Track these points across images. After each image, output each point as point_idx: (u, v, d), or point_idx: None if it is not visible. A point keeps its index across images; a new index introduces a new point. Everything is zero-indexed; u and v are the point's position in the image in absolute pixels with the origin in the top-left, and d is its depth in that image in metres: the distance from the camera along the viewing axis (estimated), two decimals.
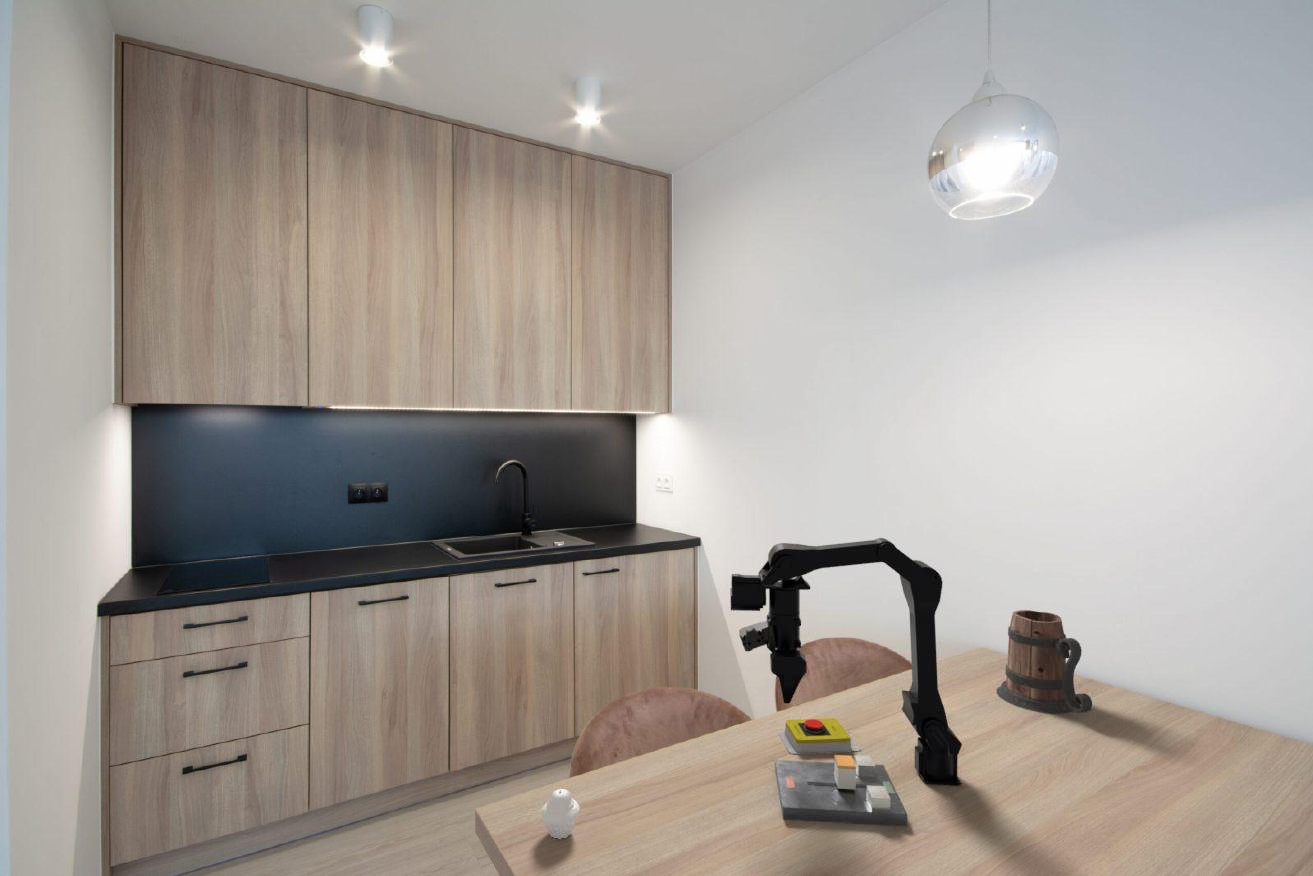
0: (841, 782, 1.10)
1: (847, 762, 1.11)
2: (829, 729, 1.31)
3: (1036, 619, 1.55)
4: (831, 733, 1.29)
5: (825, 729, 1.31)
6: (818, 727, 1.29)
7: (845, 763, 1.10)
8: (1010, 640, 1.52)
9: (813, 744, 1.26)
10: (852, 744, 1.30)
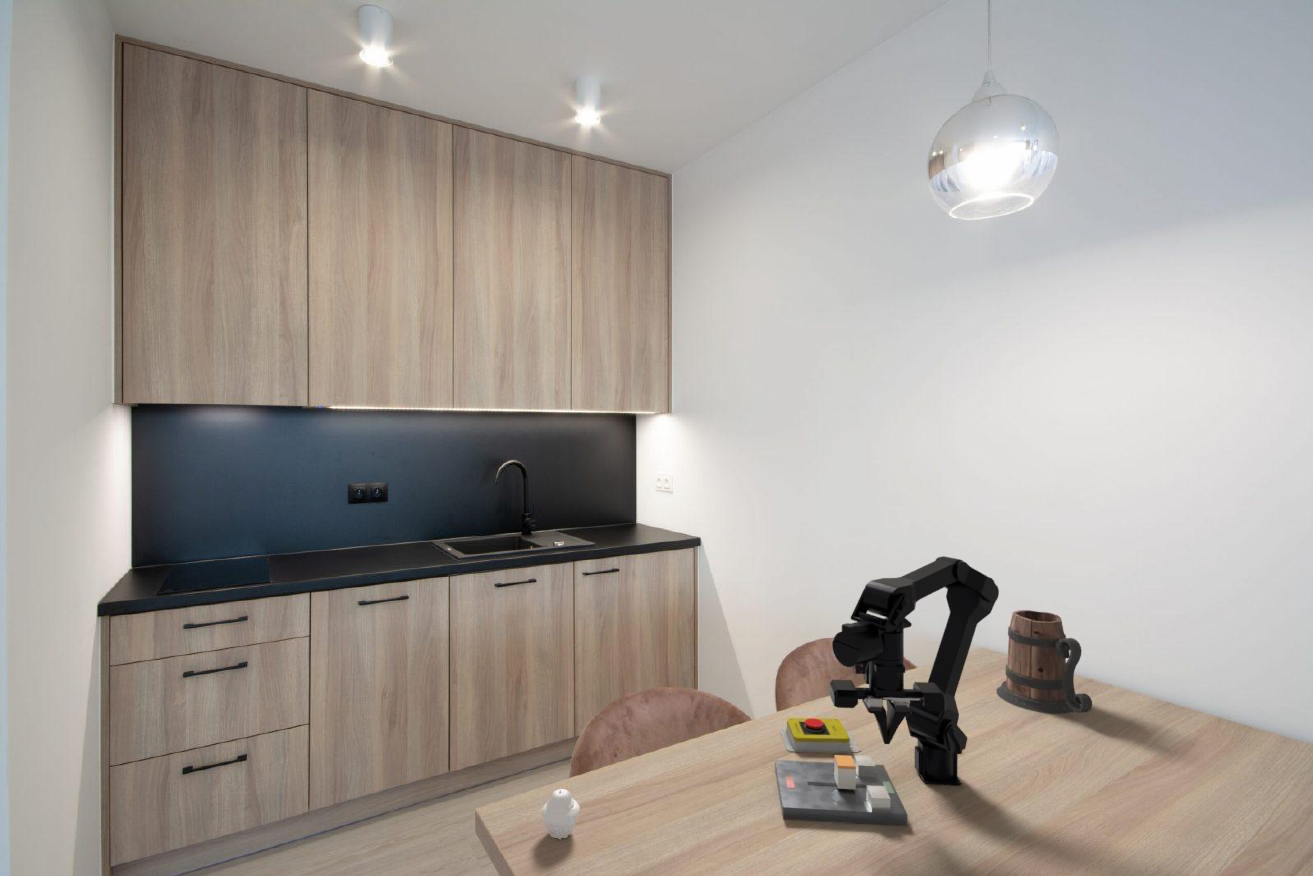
0: (841, 782, 1.10)
1: (847, 762, 1.11)
2: (830, 729, 1.31)
3: (1036, 619, 1.55)
4: (830, 733, 1.29)
5: (825, 729, 1.31)
6: (817, 726, 1.30)
7: (845, 763, 1.10)
8: (1010, 640, 1.52)
9: (810, 743, 1.27)
10: (852, 745, 1.29)
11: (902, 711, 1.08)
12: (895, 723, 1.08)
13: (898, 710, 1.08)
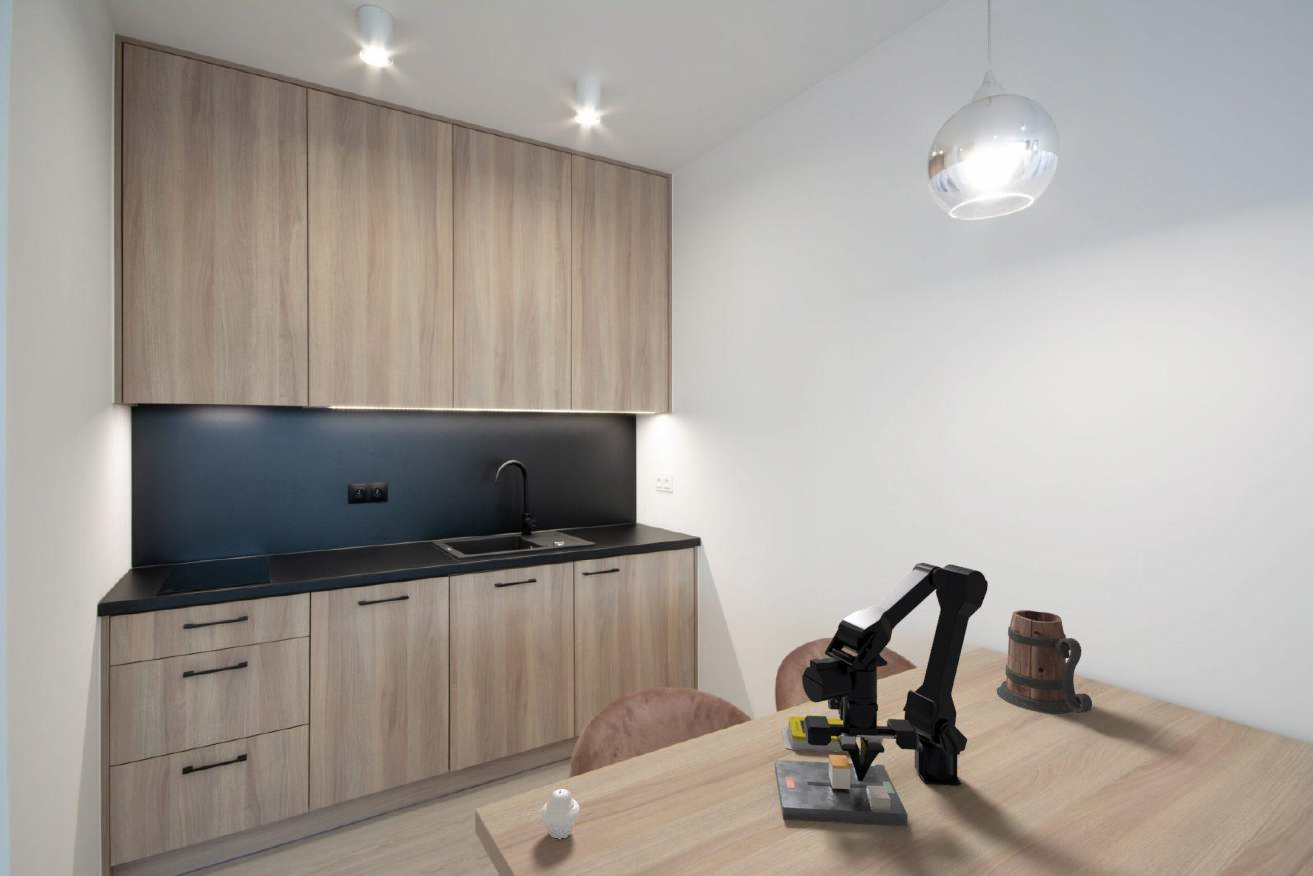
0: (835, 782, 1.10)
1: (841, 762, 1.11)
2: None
3: (1036, 619, 1.55)
4: None
5: None
6: None
7: (839, 763, 1.11)
8: (1010, 640, 1.52)
9: None
10: None
11: (874, 749, 1.08)
12: (868, 761, 1.09)
13: (871, 748, 1.09)
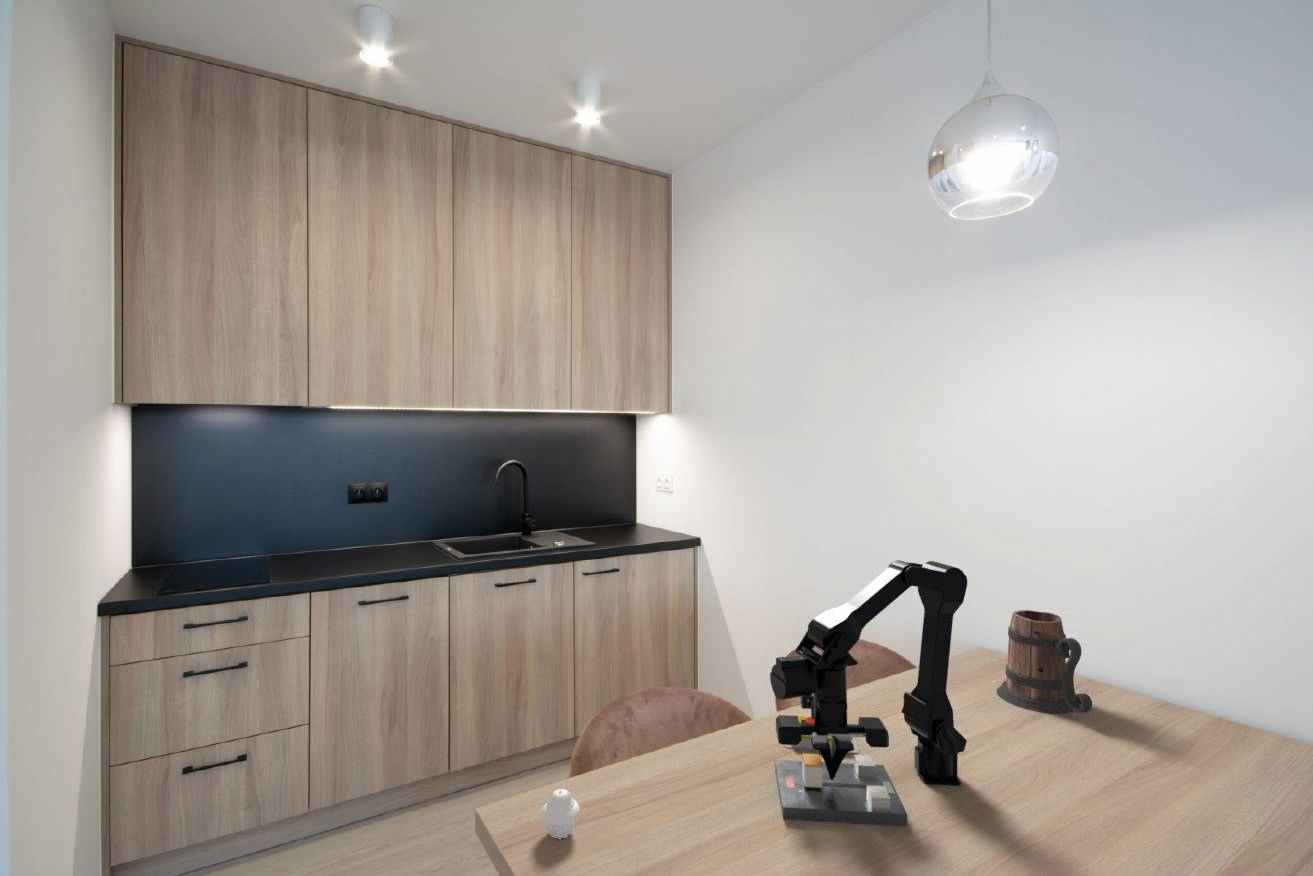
0: (808, 780, 1.10)
1: (814, 760, 1.11)
2: None
3: (1036, 619, 1.55)
4: None
5: None
6: None
7: (812, 761, 1.11)
8: (1010, 640, 1.52)
9: (807, 741, 1.28)
10: None
11: (844, 748, 1.08)
12: (838, 759, 1.09)
13: (840, 746, 1.09)
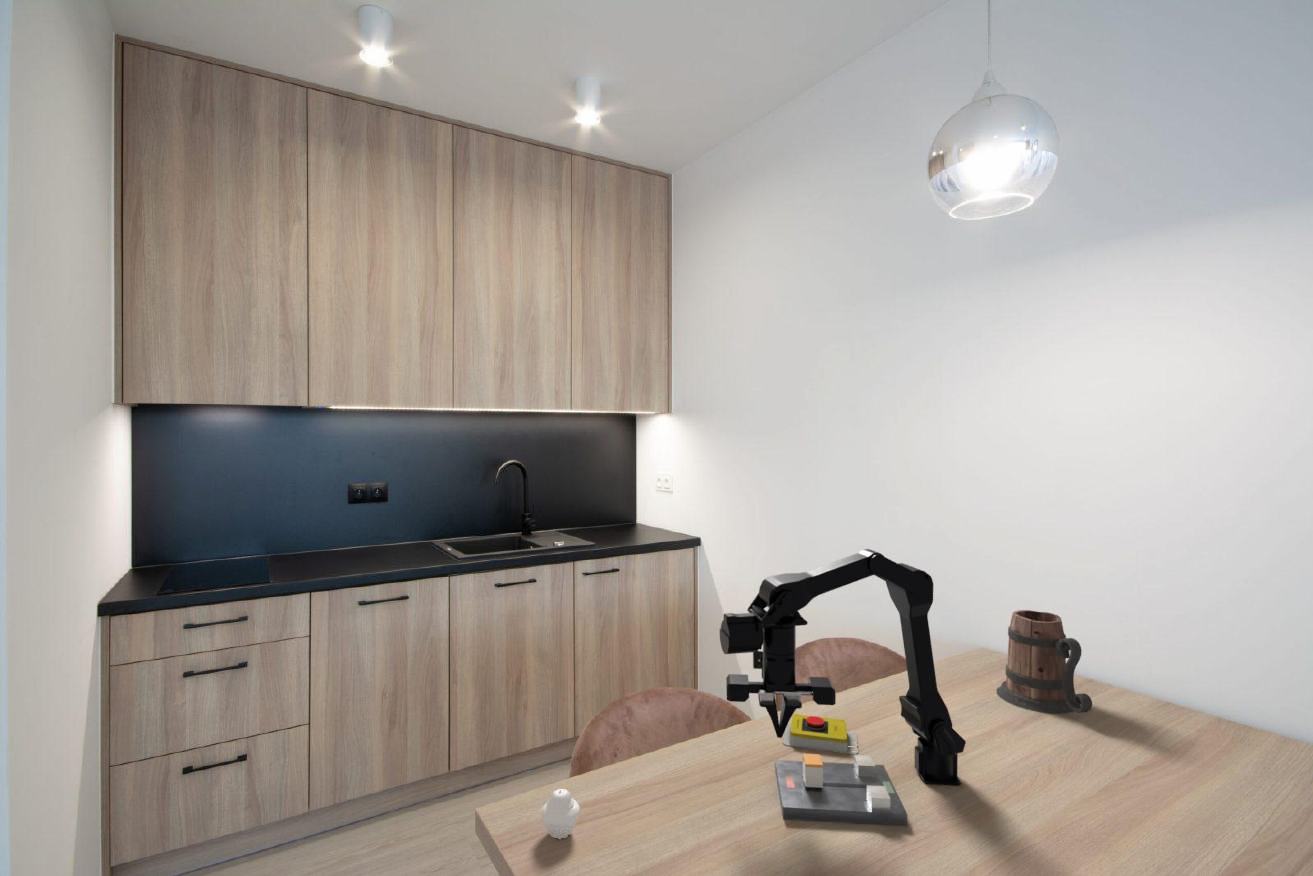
0: (808, 780, 1.10)
1: (815, 760, 1.11)
2: (830, 729, 1.31)
3: (1036, 619, 1.55)
4: (829, 732, 1.29)
5: (826, 728, 1.31)
6: (816, 724, 1.31)
7: (812, 761, 1.11)
8: (1010, 640, 1.52)
9: (806, 739, 1.29)
10: (852, 747, 1.29)
11: (791, 705, 1.09)
12: (786, 717, 1.10)
13: (789, 704, 1.10)
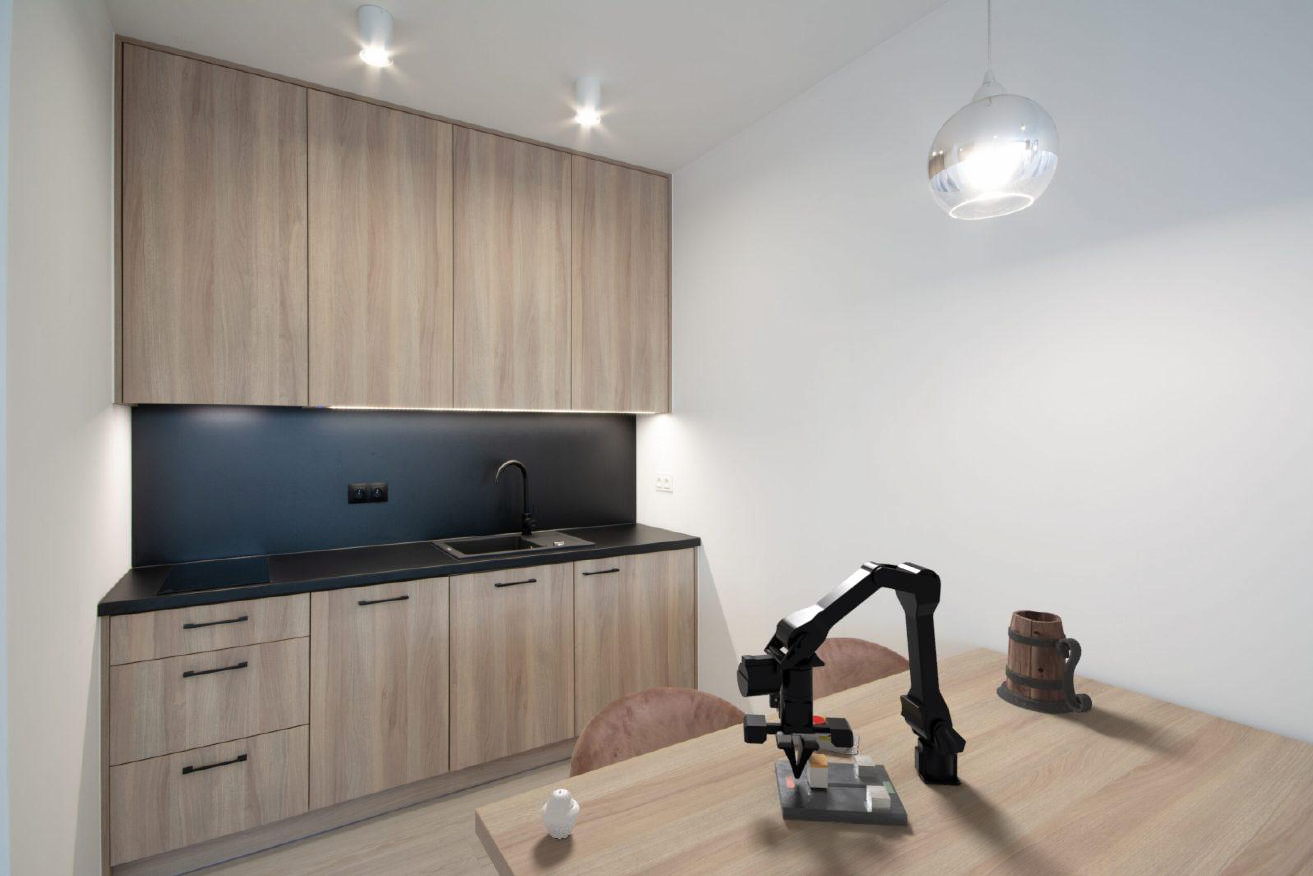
0: (813, 781, 1.10)
1: (819, 761, 1.11)
2: None
3: (1036, 619, 1.55)
4: None
5: None
6: (816, 723, 1.31)
7: (817, 762, 1.11)
8: (1010, 640, 1.52)
9: None
10: (852, 747, 1.28)
11: (809, 747, 1.09)
12: (803, 759, 1.10)
13: (806, 746, 1.10)
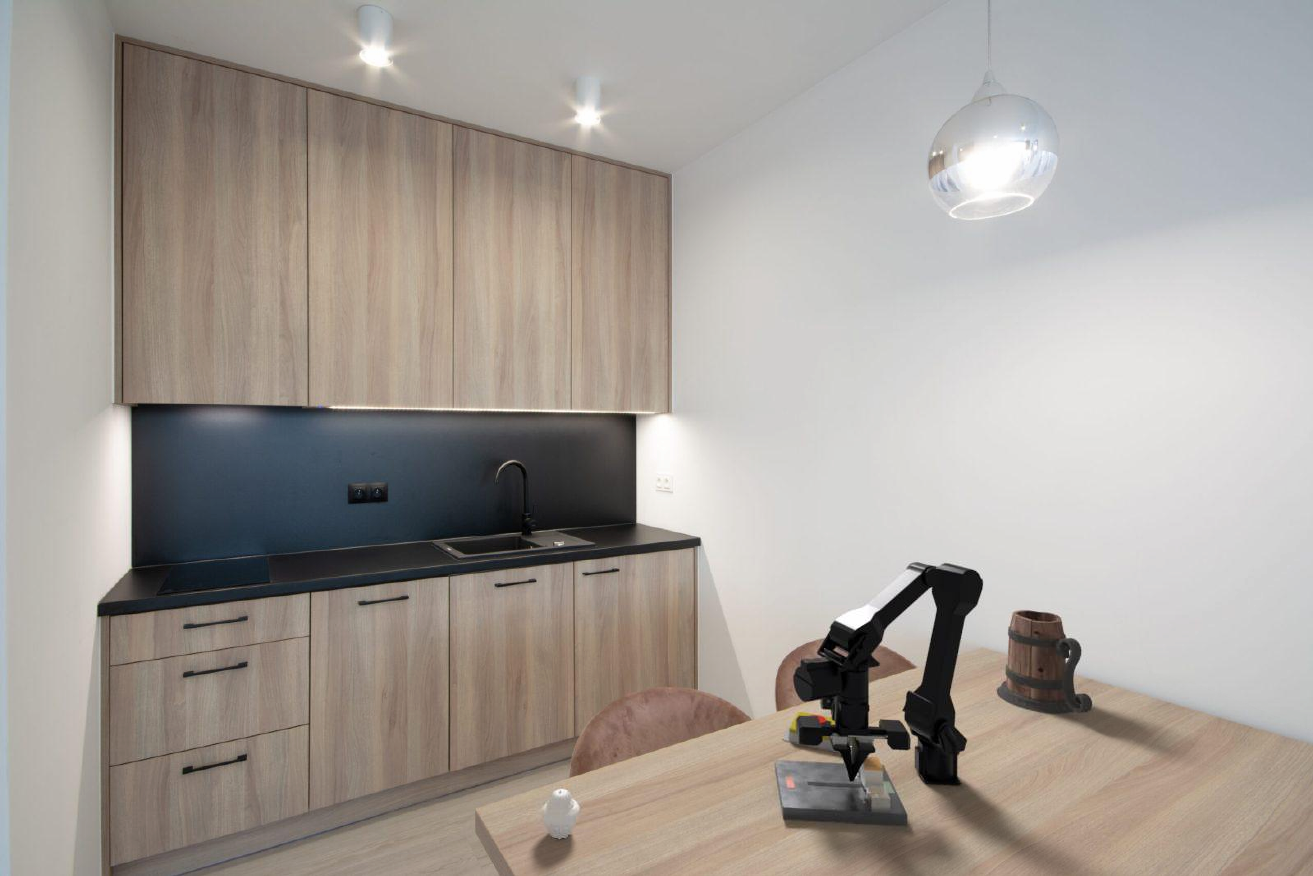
0: (868, 783, 1.09)
1: (874, 763, 1.10)
2: None
3: (1036, 619, 1.55)
4: None
5: None
6: None
7: (872, 764, 1.10)
8: (1010, 640, 1.52)
9: None
10: (851, 748, 1.28)
11: (865, 749, 1.08)
12: (859, 761, 1.09)
13: (862, 748, 1.09)
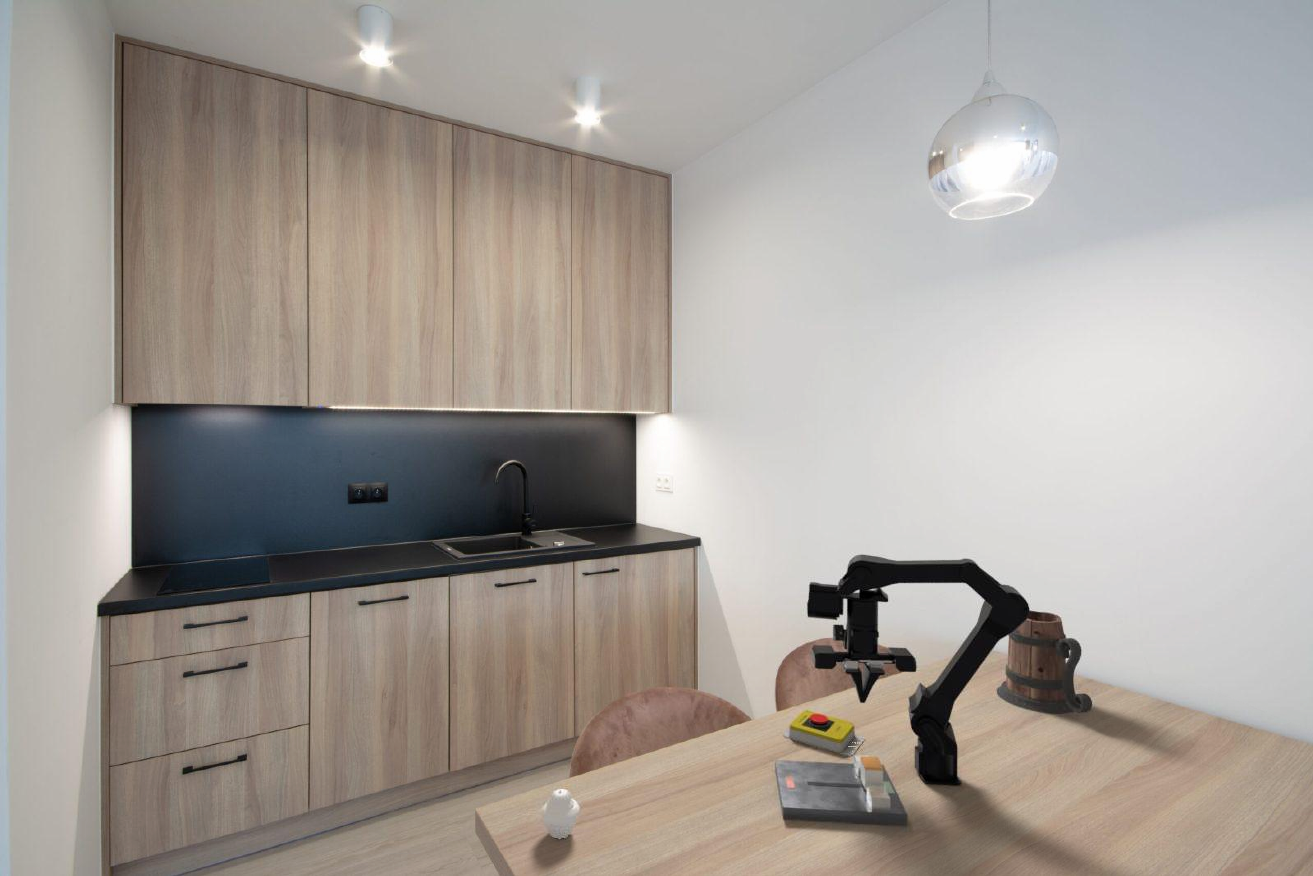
0: (868, 783, 1.09)
1: (874, 763, 1.10)
2: (832, 728, 1.31)
3: (1036, 619, 1.55)
4: (828, 731, 1.30)
5: (828, 727, 1.32)
6: (817, 721, 1.32)
7: (872, 764, 1.10)
8: (1010, 640, 1.52)
9: (803, 734, 1.31)
10: (850, 749, 1.28)
11: (875, 672, 1.19)
12: (870, 683, 1.20)
13: (872, 671, 1.20)
